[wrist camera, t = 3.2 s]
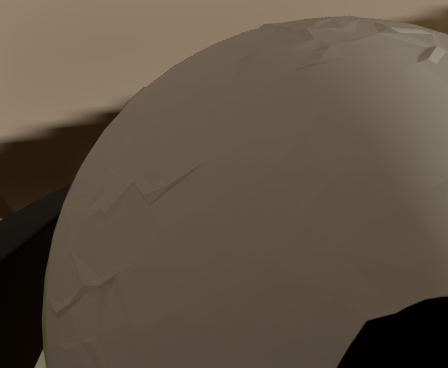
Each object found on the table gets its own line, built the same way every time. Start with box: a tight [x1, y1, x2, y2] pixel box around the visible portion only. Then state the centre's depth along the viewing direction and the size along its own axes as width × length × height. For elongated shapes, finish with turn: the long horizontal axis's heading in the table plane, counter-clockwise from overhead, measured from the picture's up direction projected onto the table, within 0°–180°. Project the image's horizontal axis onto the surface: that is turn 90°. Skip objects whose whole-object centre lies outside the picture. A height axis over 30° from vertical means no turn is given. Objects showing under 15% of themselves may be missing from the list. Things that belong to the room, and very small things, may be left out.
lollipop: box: [42, 16, 448, 368], centre depth 9 cm, size 7×7×15 cm
